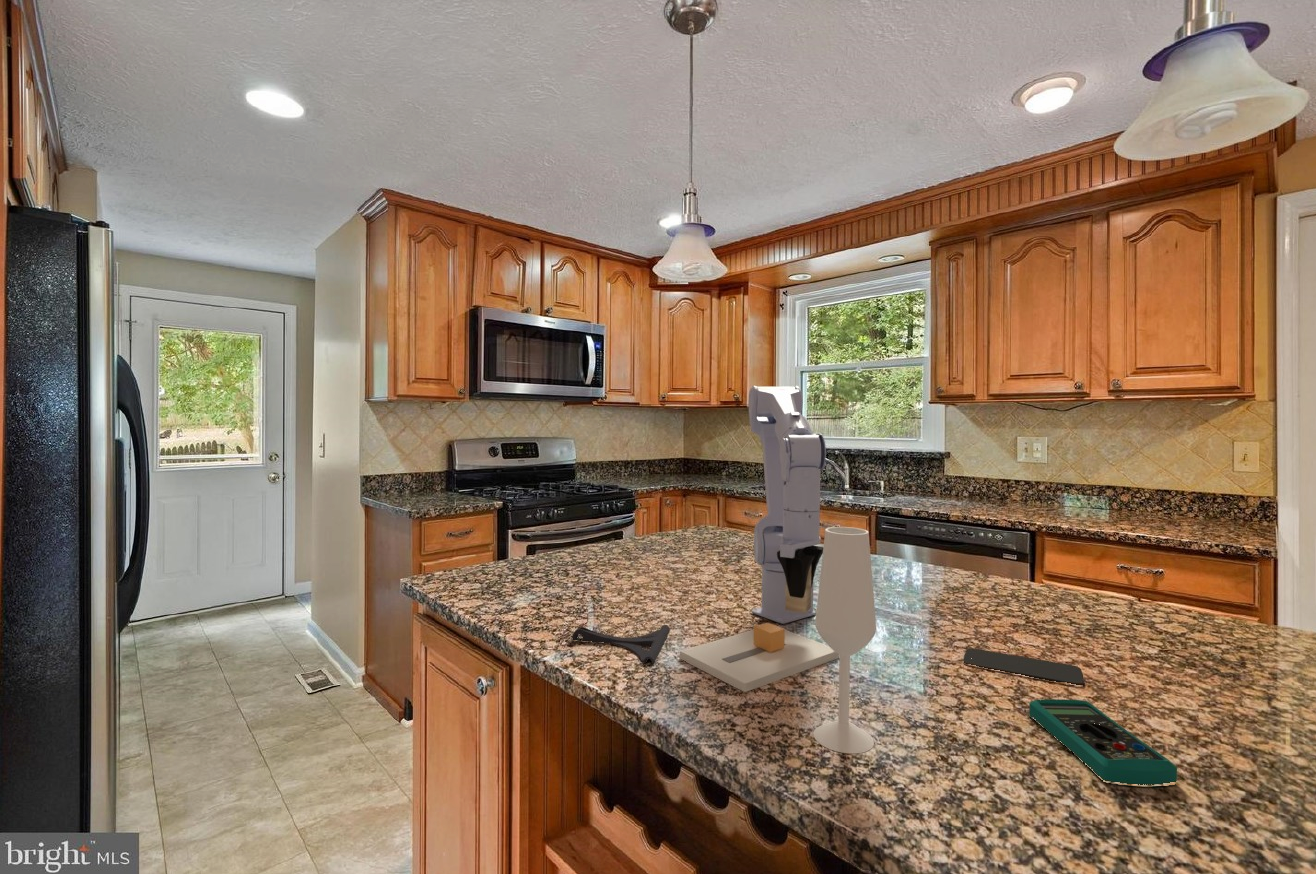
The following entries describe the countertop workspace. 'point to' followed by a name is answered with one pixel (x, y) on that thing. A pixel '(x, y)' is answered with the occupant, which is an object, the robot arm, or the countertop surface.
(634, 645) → the bracket
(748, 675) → the switch panel
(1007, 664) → the phone
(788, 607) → the tall stone pillar
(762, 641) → the block
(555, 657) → the countertop surface
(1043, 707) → the digital multimeter
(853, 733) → the champagne flute
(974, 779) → the countertop surface
